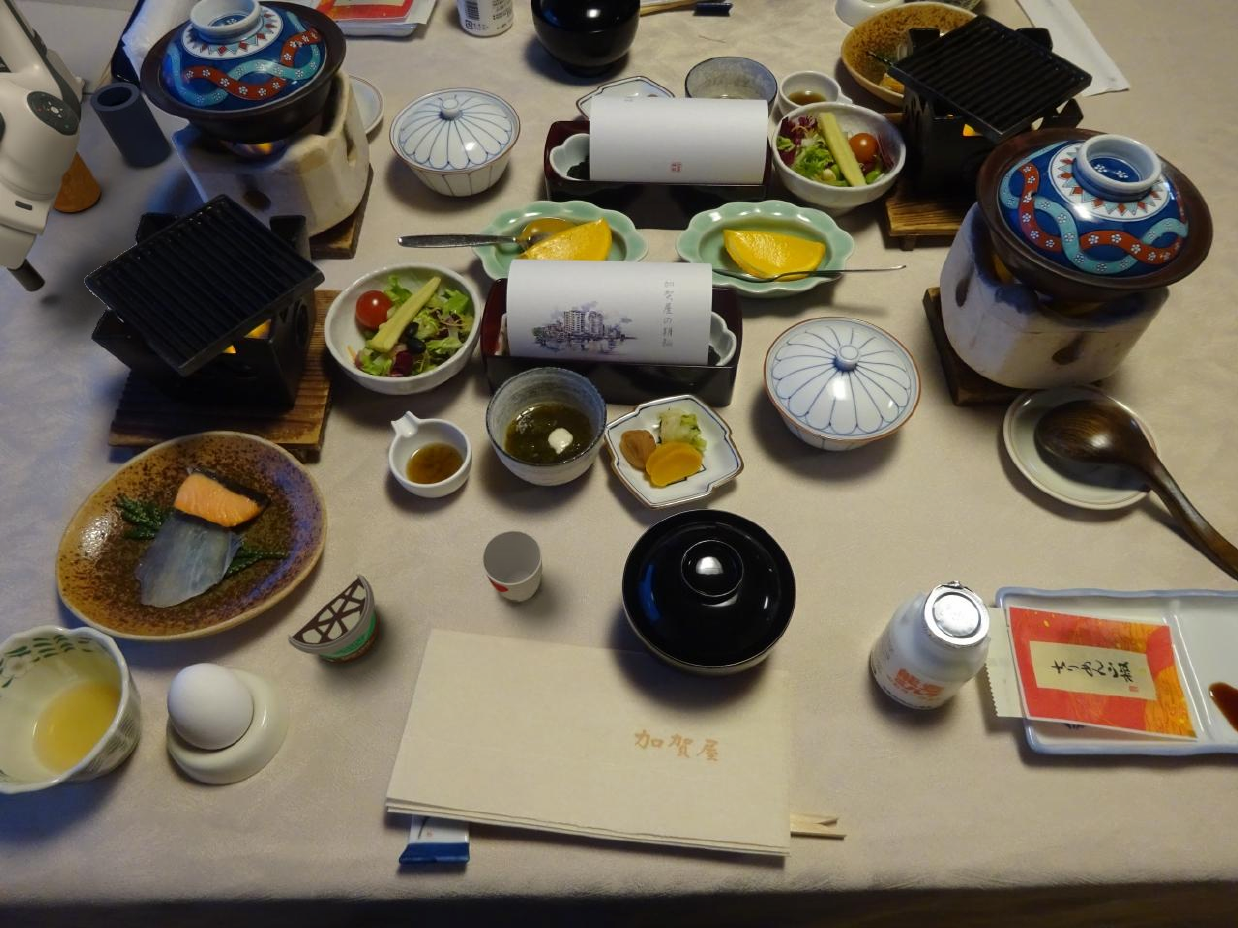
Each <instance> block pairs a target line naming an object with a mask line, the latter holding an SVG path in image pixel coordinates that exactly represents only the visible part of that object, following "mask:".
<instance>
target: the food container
mask: <svg viewBox="0 0 1238 928" xmlns="http://www.w3.org/2000/svg"><path fill="white" fill-rule="evenodd" d="M355 575H356V577H357V578H356V579H355V580H354V581H352V582H351V583H350V584H349V585H348V586H347V587H346V588H345V589H344V590H343V591H342V592H340V593H339V594H338V595H337V596H336V597H334V598H332V599H331V600H330V601H329V602H328V603H326V604H325V605H324V606H323V607H322V608H321V609H320V610H319V611H318V612H317V613H316V614H315V615H314V616H313V617H312V618H311V619H310V620H309V621H308V622H307V623H306V624H305V625H304V626H303V627H301V628H300V629H299V630H298V631H297V632H296V633H295V634H294V635H293V636H291V635H289V634H288V635H287V637H288V638H287V640H288V643H289V644H290V645H291V646H292V647H293V648H294V649H296V650H298V651H300V652H302V653H306V654H309V655H317V656H319V657H320V658H321V659H323V660H326V661H328V662H331V663H334V664H347V663H351V662H354V661H358V660H359V659H360V658H362V657H364V656H366V654H368V653H369V652H370V651H371V649H372V648H373V647H374V646H375V644H376V642H377V640H378V637H379V635H380V619H379V616H378V614H377V611H376V609H375V594H374V590H373V588H372V586H371V584H370V582H369V581H368V580H367V578H365V576H363V575H362V574H360V573H359V574H358V573H355Z"/></svg>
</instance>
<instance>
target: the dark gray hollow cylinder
mask: <svg viewBox="0 0 1238 928" xmlns="http://www.w3.org/2000/svg"><path fill="white" fill-rule="evenodd" d="M89 105H90V107H91V108H92V109H93V111H94V113H95V115H96V116H97V118H98V120H99V121H100V123H101V125H102V126H103V128H104V129H105V131H106V132H107V134H108V136H109V137H110V139H111V140H112V142H113V144H114V145H115V147H116V149H117V150H118V151H119V154H120V155H121V156H122V158H123V159H124V161H125V162H126V163H127V165H129V166H132V167H133V168H141V169H142V168H149V167H153V166H156V165H158V164H161V163H162V162H164V161H165V160H166V159H168V157H169V155H170V154H171V151H172V147H171V145H170V142H169V141H168V139H167V138H166V135H165V134H164V132H163V130H162V129H161V126H160V124H159V122H158V121H157V119H156V118H155V115H154V114H153V112H152V110H151V108H150V107H149V105H148V103H147V101H146V99H145V98H144V96H143V94H142V92H141V90H140V89H139V87H138V86H137V85H135V84H133V83H131V82H113V83H109V84H106V85H104V86H102V87H100V88H98V89H97V90H95V91H94V92H93V93H92V94H91V96H90V98H89Z"/></svg>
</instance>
